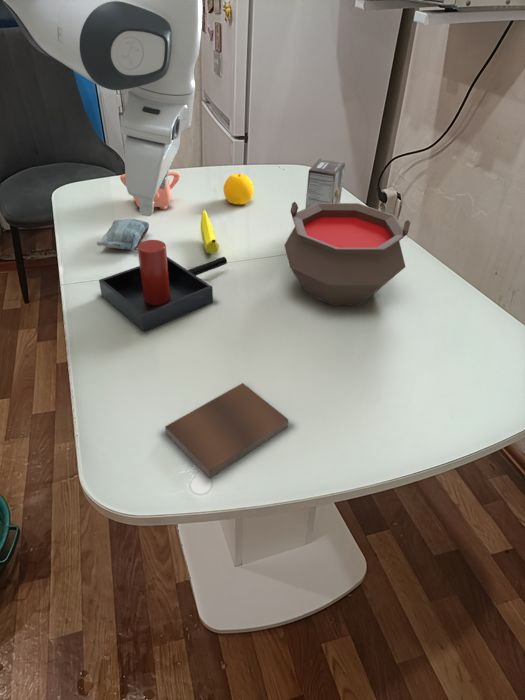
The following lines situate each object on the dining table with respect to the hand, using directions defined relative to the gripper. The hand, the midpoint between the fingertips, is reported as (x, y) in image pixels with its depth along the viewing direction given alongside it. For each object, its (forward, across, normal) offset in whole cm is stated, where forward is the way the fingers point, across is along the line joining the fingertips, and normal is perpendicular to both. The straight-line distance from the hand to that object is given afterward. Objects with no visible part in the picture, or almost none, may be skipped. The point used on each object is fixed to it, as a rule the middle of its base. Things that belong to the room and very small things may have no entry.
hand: (153, 199), depth 79 cm
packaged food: (+26, -27, -11) cm, 39 cm away
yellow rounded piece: (+24, -55, +12) cm, 61 cm away
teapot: (+28, -50, -9) cm, 58 cm away
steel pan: (+23, -8, +4) cm, 25 cm away
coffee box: (+20, -39, +33) cm, 55 cm away
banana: (+23, -28, +8) cm, 37 cm away
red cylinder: (+23, -5, +1) cm, 23 cm away
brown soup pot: (+18, -14, +36) cm, 42 cm away
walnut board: (+18, +27, +18) cm, 37 cm away
